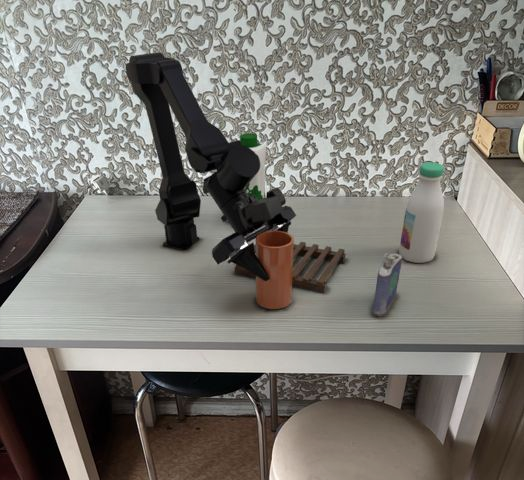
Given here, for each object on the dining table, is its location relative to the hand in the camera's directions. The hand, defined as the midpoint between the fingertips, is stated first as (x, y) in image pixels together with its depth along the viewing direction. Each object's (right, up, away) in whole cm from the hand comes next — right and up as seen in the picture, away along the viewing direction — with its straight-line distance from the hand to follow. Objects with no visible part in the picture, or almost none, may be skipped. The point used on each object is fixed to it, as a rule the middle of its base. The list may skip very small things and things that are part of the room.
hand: (280, 272), depth 100 cm
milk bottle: (+31, +6, +19) cm, 37 cm away
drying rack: (+3, +3, +16) cm, 16 cm away
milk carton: (-7, +18, +35) cm, 40 cm away
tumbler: (-1, -5, +5) cm, 7 cm away
